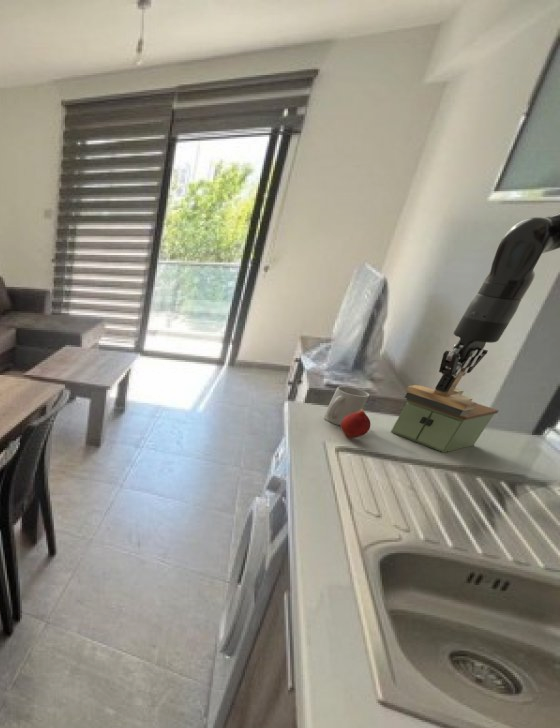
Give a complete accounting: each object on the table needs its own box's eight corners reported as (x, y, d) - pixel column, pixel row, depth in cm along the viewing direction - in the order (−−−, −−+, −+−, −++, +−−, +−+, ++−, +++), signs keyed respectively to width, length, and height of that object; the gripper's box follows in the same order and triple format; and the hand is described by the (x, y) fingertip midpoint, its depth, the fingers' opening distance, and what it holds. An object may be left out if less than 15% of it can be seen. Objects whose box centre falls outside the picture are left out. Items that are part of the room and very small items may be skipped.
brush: (469, 414, 112) (492, 378, 108) (460, 416, 111) (483, 380, 106) (411, 395, 122) (430, 361, 117) (402, 397, 120) (421, 362, 116)
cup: (360, 425, 132) (375, 394, 127) (337, 429, 128) (352, 398, 124) (333, 414, 137) (347, 385, 133) (310, 418, 134) (324, 388, 129)
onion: (361, 437, 125) (376, 409, 121) (363, 445, 120) (378, 416, 116) (334, 430, 127) (348, 403, 123) (336, 438, 123) (350, 410, 119)
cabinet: (475, 445, 124) (499, 410, 119) (442, 454, 118) (465, 417, 114) (420, 424, 134) (439, 391, 129) (386, 431, 129) (405, 397, 124)
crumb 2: (465, 409, 118) (472, 398, 117) (459, 411, 117) (466, 399, 116) (451, 405, 121) (458, 394, 119) (444, 406, 120) (451, 395, 118)
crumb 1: (457, 401, 123) (464, 390, 122) (451, 402, 122) (457, 391, 121) (443, 397, 126) (450, 386, 124) (437, 398, 124) (443, 387, 123)
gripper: (491, 323, 100) (446, 399, 109) (524, 320, 105) (478, 393, 114) (448, 314, 106) (409, 387, 115) (482, 312, 111) (441, 382, 120)
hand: (444, 390), depth 114 cm, fingers closed on brush, 2 cm apart
